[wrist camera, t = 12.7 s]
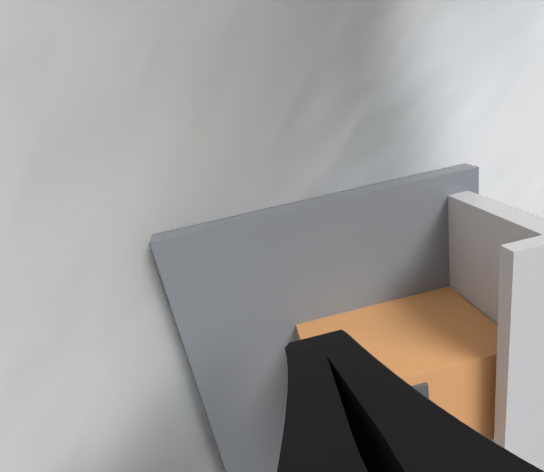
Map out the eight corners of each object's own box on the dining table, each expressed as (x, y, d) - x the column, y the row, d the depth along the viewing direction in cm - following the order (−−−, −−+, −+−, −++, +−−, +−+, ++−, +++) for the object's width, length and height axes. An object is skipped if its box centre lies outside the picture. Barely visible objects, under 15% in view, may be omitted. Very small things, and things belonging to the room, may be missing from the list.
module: (448, 286, 19) (527, 348, 14) (450, 357, 21) (521, 434, 16) (295, 324, 19) (324, 403, 14) (309, 394, 20) (339, 486, 16)
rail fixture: (464, 163, 18) (606, 200, 12) (466, 478, 26) (550, 604, 20) (152, 234, 17) (115, 318, 11) (253, 540, 25) (267, 695, 19)
